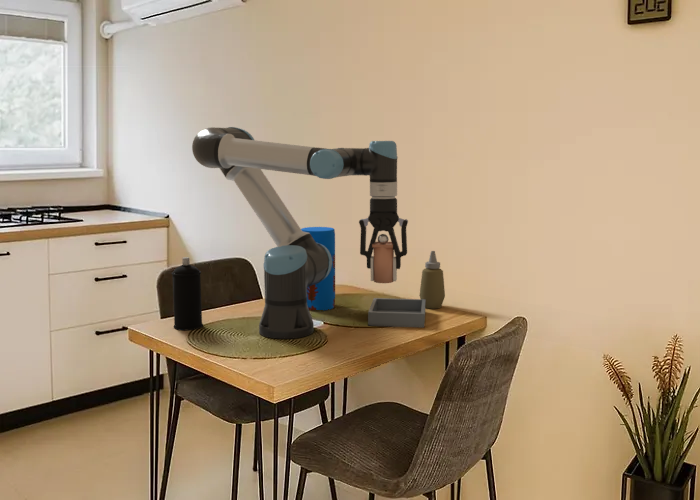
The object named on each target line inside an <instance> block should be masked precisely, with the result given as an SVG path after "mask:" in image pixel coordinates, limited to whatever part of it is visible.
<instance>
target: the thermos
mask: <svg viewBox="0 0 700 500" xmlns="http://www.w3.org/2000/svg"><path fill="white" fill-rule="evenodd" d="M300 229H301V230H302V231H303V232H308V233H310V234H311V236H312V237H313V239H314V240H315V242H316V243H319V244H322V245H324V246H325V247H326V248H327V249H328V250H329V252H330V254H331V257H332V267H331V271H330V273H329V274H328V276H327V277H326V278H325V279H323V280H322V281H321V282H319V283H318V284H314V285H311V286H309V287H307V306H308V309H309V311H313V310H323V311H329V310H332V309H334V308H335V306H336V305H335V304H336V232H335V228H333V227H329V226H328V227H327V226H309V227H308V226H307V227H302V228H300ZM328 309H329V310H328Z"/></svg>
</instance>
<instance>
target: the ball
mask: <svg viewBox="0 0 700 500" xmlns="http://www.w3.org/2000/svg"><path fill="white" fill-rule="evenodd" d="M377 242H379V243H380V244H387V243H388V242H389V237H388V235H387V234H386V233H381V234H378V236H377Z"/></svg>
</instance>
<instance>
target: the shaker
mask: <svg viewBox="0 0 700 500" xmlns="http://www.w3.org/2000/svg"><path fill="white" fill-rule="evenodd" d="M372 247H374V249H373V256H374V281H373V282H374V283H377V284H391V283H393V282H395V281H393V258H394V257H395V252H394V249H393V244H392V242H391V241H388V243H387V244H380V243H379V242H378V241H376V242H375V243H374V244H372Z"/></svg>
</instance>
